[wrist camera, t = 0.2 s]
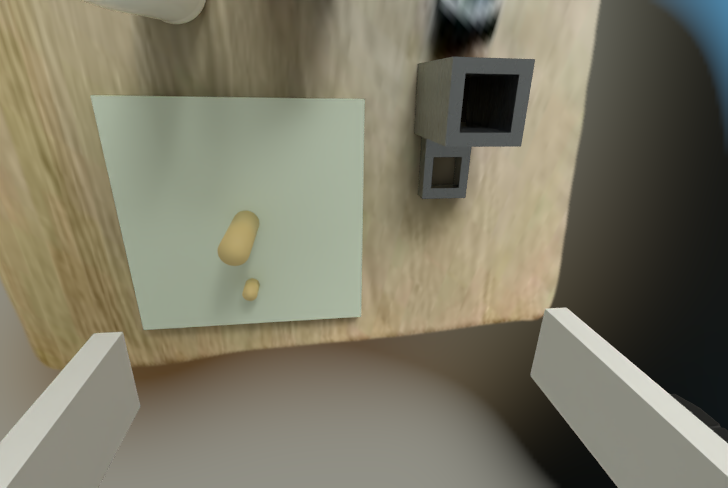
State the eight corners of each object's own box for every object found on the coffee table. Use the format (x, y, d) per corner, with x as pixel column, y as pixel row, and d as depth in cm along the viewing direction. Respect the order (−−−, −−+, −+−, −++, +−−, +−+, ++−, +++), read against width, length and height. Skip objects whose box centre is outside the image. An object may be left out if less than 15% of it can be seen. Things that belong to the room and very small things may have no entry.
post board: (99, 95, 32) (34, 98, 25) (362, 98, 35) (378, 102, 28) (149, 321, 41) (112, 377, 33) (359, 309, 44) (371, 357, 36)
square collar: (418, 63, 35) (453, 56, 27) (482, 65, 36) (535, 59, 28) (410, 194, 39) (437, 223, 31) (467, 193, 40) (508, 221, 32)
